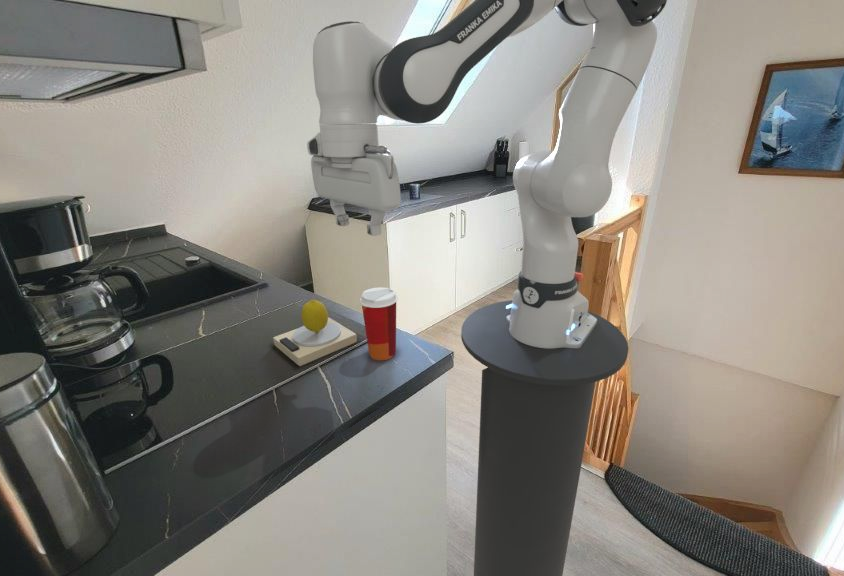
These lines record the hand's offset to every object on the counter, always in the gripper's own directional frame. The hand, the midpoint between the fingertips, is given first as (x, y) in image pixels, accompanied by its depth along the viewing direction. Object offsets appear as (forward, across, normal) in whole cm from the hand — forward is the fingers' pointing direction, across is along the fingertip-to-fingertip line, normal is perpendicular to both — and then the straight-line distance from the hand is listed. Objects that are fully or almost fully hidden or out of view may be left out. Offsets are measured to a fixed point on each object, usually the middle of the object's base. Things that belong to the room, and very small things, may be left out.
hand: (358, 229), depth 69 cm
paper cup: (+29, +4, -6) cm, 30 cm away
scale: (+29, +18, +2) cm, 34 cm away
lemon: (+26, +18, +2) cm, 32 cm away
